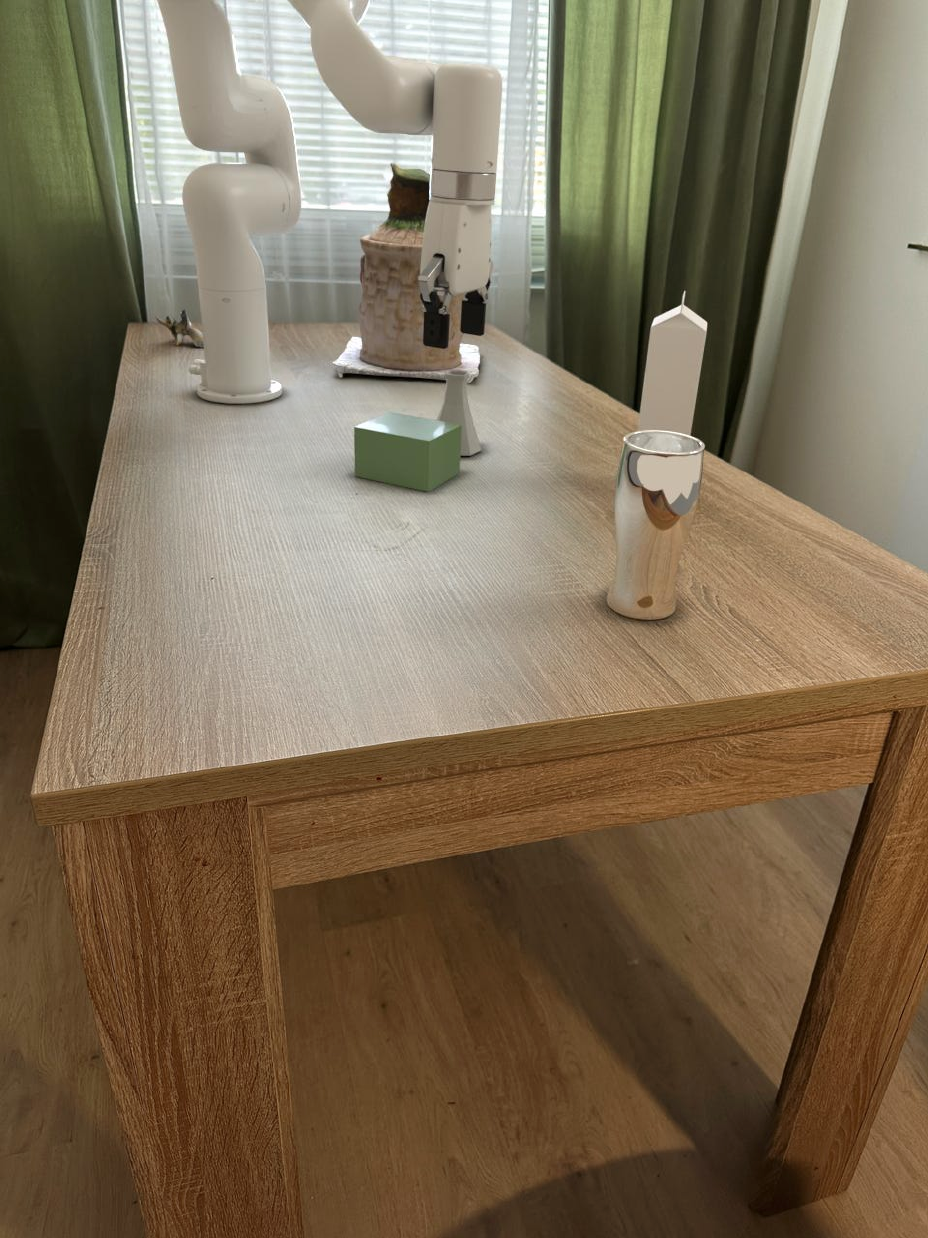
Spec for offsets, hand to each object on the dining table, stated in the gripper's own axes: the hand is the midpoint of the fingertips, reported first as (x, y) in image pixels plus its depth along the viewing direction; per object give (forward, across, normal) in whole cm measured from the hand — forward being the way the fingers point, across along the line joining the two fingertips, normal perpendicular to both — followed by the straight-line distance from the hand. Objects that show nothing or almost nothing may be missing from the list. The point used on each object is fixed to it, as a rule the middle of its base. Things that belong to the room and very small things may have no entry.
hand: (454, 340), depth 114 cm
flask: (+14, 0, +1) cm, 14 cm away
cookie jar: (+15, -39, -28) cm, 50 cm away
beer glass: (+13, +31, +36) cm, 49 cm away
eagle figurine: (+16, -29, -70) cm, 77 cm away
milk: (+13, -1, +28) cm, 31 cm away
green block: (+14, +12, +1) cm, 18 cm away
